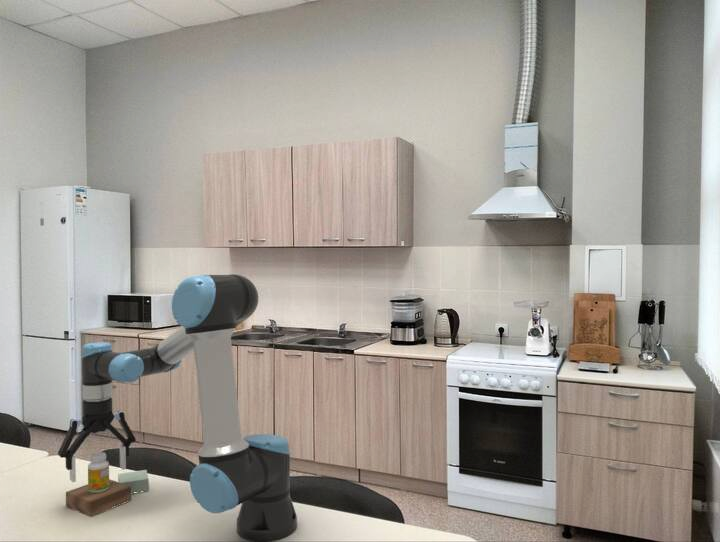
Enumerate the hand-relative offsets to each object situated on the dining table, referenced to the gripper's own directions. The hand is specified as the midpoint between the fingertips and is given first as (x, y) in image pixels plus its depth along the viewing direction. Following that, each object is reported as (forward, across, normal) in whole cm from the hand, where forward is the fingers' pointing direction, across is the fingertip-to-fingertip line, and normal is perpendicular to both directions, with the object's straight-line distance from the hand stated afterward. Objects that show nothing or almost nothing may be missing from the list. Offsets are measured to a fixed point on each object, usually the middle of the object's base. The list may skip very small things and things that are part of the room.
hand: (98, 474), depth 158 cm
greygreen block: (+8, -11, -4) cm, 14 cm away
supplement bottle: (+4, 0, 0) cm, 4 cm away
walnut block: (+8, 0, 0) cm, 8 cm away
